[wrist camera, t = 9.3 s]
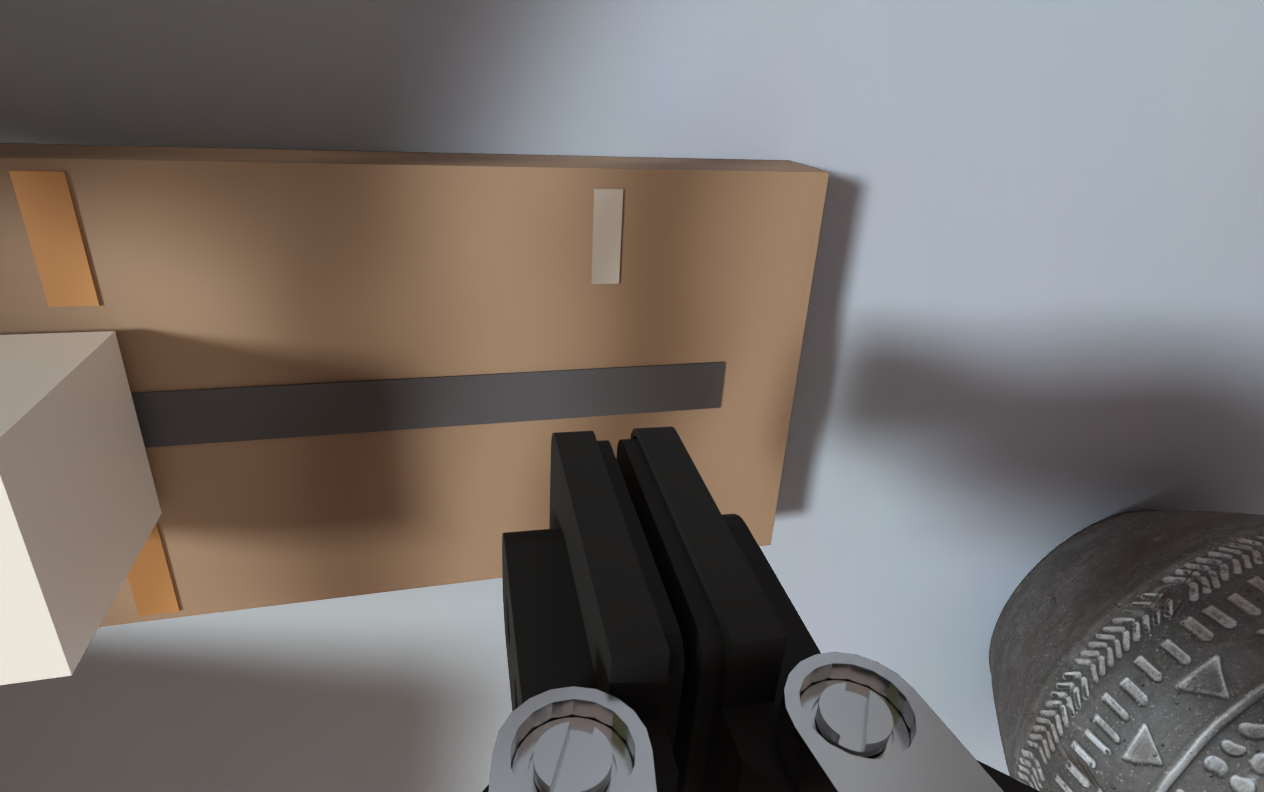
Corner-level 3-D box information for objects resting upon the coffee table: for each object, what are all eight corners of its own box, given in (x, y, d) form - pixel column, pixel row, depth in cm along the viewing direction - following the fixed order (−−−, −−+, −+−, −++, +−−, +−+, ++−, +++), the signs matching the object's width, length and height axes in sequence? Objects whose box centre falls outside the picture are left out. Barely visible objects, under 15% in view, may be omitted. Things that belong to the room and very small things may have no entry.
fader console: (789, 160, 18) (830, 173, 16) (742, 505, 22) (771, 545, 20) (-245, 137, 13) (-354, 151, 11) (-54, 589, 17) (-110, 654, 15)
